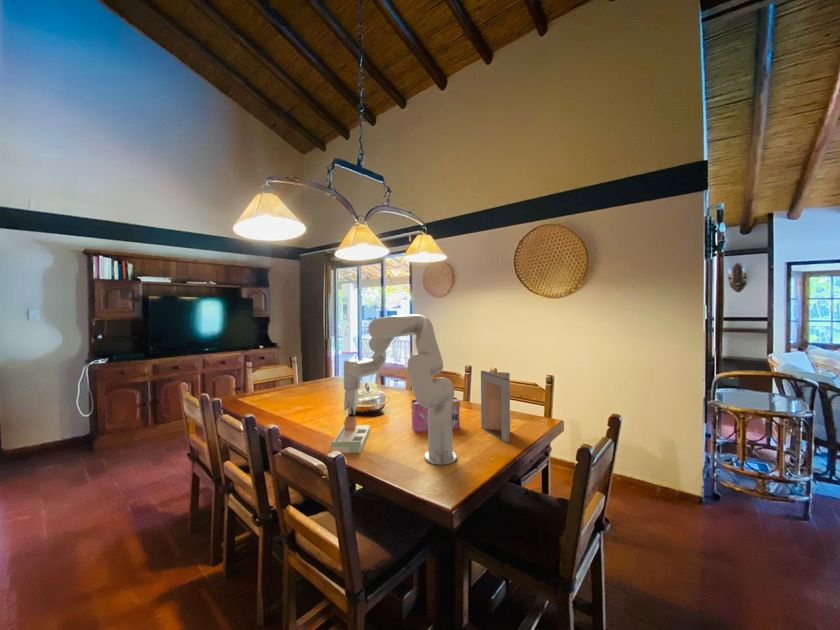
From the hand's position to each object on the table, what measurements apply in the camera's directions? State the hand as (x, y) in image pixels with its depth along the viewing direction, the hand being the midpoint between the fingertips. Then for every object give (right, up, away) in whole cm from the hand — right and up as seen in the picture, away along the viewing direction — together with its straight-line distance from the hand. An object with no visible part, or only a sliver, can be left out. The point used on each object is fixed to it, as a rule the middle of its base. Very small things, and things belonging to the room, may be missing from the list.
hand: (351, 423), depth 167 cm
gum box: (+40, -4, +4) cm, 41 cm away
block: (0, -1, -3) cm, 3 cm away
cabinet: (+71, -4, -5) cm, 71 cm away
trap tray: (+2, -5, -11) cm, 12 cm away
